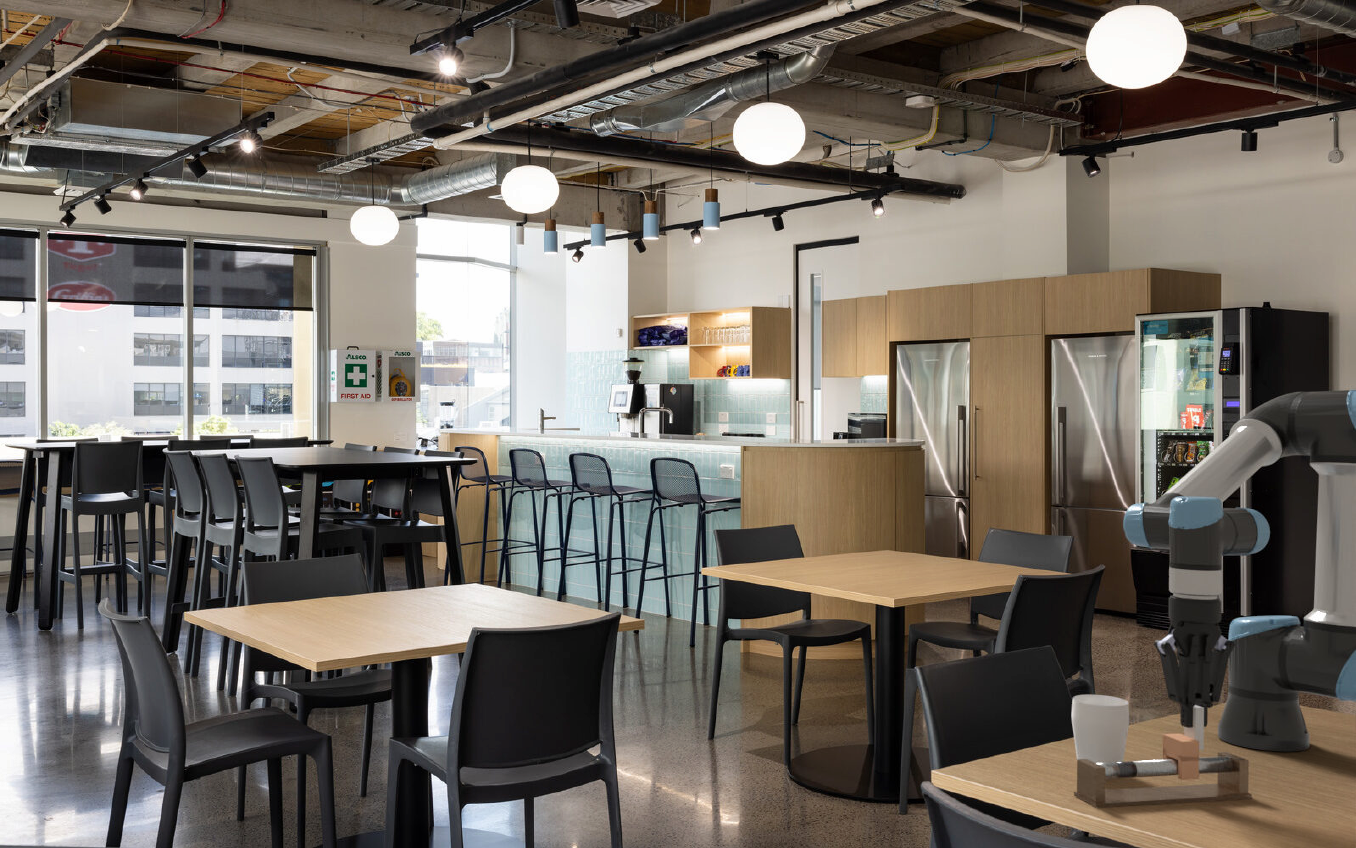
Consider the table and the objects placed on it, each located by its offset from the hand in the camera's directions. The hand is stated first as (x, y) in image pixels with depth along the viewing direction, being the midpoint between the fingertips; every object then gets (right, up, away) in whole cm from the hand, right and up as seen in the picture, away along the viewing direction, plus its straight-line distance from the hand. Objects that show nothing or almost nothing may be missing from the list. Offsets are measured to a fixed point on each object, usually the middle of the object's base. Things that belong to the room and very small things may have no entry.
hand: (1193, 747), depth 179 cm
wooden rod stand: (-5, -7, -1) cm, 9 cm away
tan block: (-2, -4, 0) cm, 5 cm away
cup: (-10, -8, +12) cm, 17 cm away
